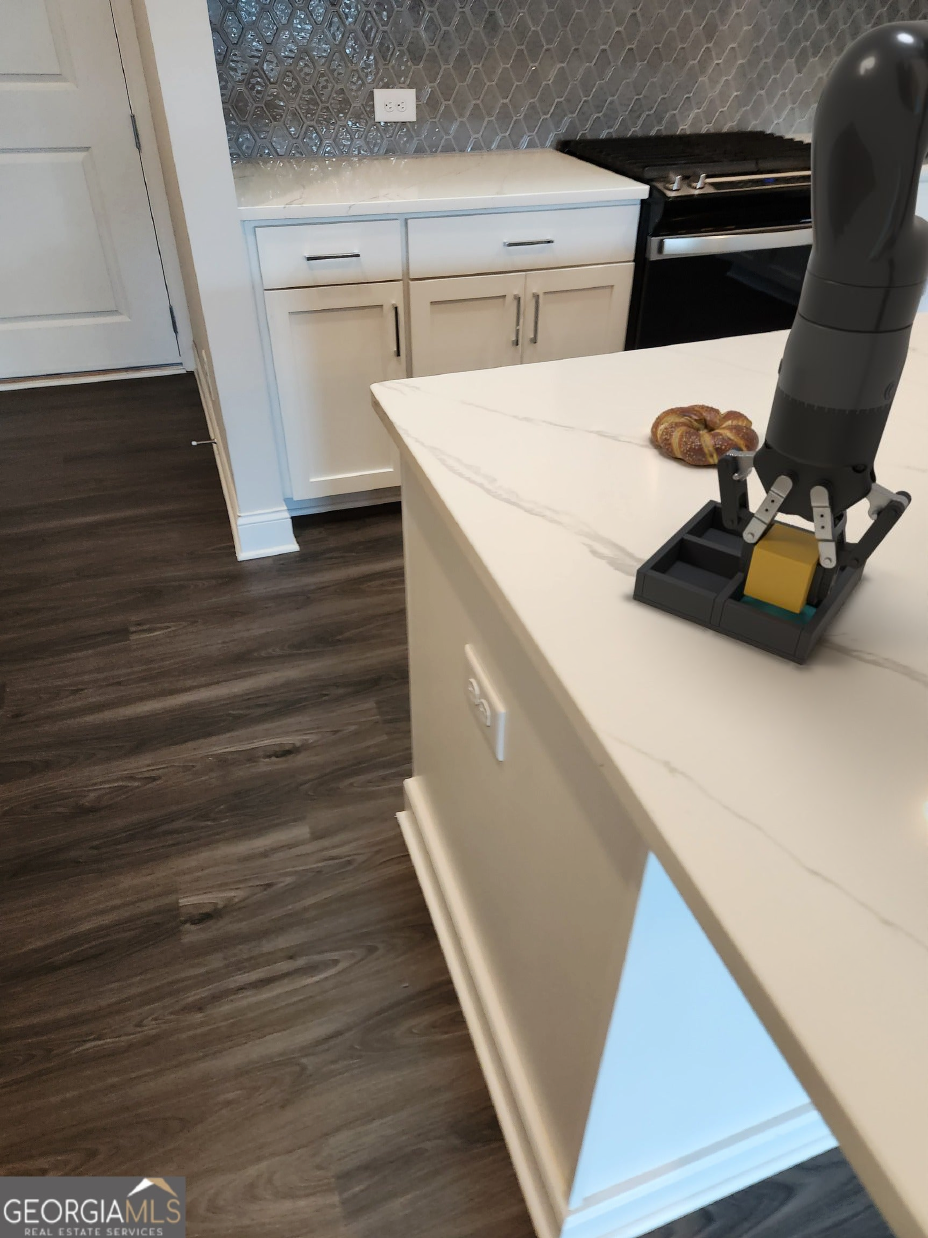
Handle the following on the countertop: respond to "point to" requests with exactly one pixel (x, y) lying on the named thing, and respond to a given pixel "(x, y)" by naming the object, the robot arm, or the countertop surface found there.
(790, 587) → the block
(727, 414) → the pretzel
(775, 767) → the countertop surface
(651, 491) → the countertop surface
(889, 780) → the countertop surface
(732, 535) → the tray
